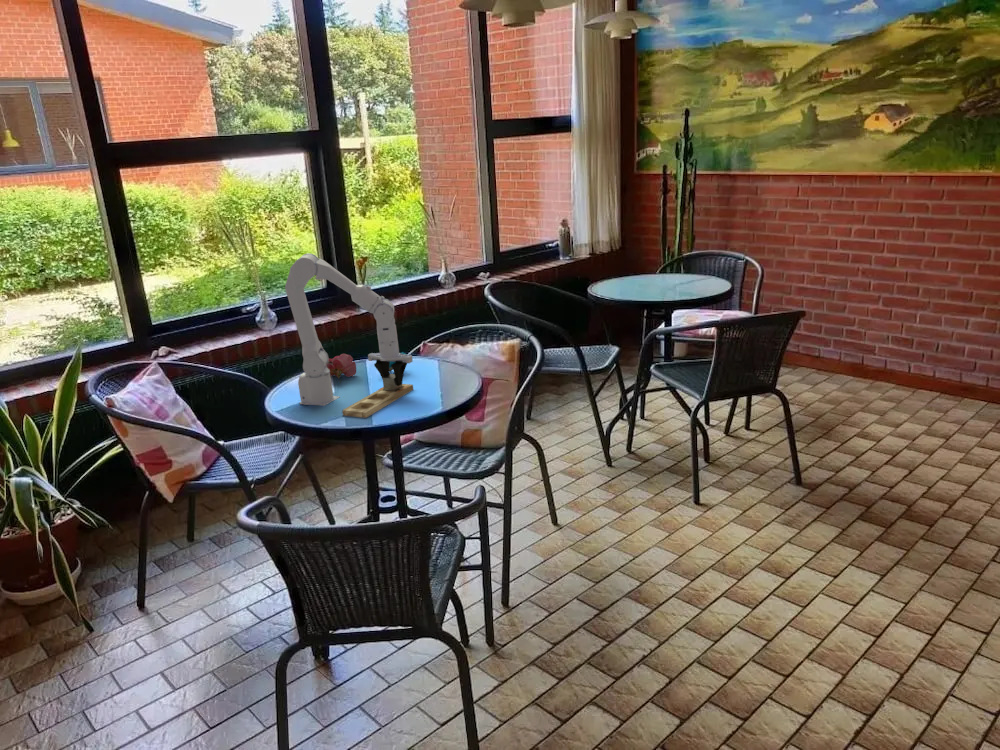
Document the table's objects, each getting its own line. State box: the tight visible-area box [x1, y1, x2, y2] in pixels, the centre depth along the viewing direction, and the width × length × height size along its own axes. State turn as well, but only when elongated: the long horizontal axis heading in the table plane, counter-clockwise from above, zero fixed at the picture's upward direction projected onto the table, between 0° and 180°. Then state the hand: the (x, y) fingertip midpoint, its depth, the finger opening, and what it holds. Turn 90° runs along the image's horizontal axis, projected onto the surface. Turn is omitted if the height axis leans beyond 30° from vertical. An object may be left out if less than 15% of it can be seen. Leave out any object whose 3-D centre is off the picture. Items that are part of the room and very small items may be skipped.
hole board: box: [341, 383, 414, 418], centre depth 219 cm, size 8×25×2 cm, turn 155°
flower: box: [326, 353, 357, 383], centre depth 245 cm, size 11×10×10 cm
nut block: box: [381, 373, 403, 392], centre depth 224 cm, size 4×4×5 cm
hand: (393, 384), depth 225 cm, fingers closed on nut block, 4 cm apart
